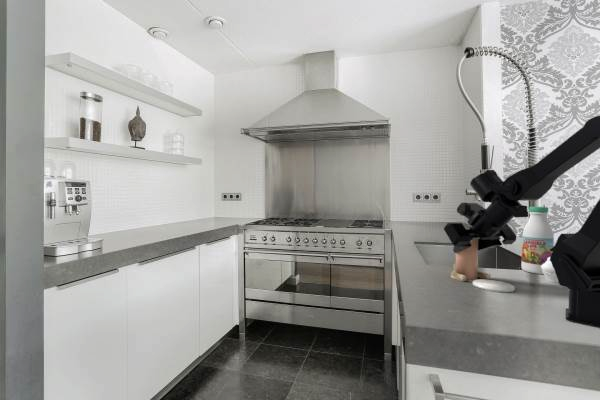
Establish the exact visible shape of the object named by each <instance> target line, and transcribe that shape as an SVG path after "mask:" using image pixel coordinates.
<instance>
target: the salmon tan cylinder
mask: <svg viewBox="0 0 600 400" xmlns="http://www.w3.org/2000/svg"><path fill="white" fill-rule="evenodd" d="M470 244H471V245H472V246H471V247H469V248H467V249H464V250H462V251H460V252H457V253H455V263H456V269H455V272H456V273H459V274H462V275H465V276H466V280H468V281H474V280H478V277H477V275H478V271H479V270H478V269H479V268H478V267H479V266H478V265H479V251H478V239H473V240H472V241H470Z"/></svg>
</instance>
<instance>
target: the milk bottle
mask: <svg viewBox="0 0 600 400" xmlns="http://www.w3.org/2000/svg"><path fill="white" fill-rule="evenodd" d="M528 215H529V219H528V221H527V222H526V224H525V226H524V228H523V230H522V239H521V240H522V241H521V261H520V262H521V264H520V265H521V270H522V271H524V272H528V273H533V274H538V275H544V274H543V272H542V271H543V270H542V269H541V265H542V264H544V263H545V262H546V261H547V258H549V257H551V254H552V252H553V251H550V249H551V248H553V247H554V246H555V237H554V236H555V235H554V230H553V228H552V226H551V224H550V222H549V220H548V215H549V207H547V206H529V209H528Z"/></svg>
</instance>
